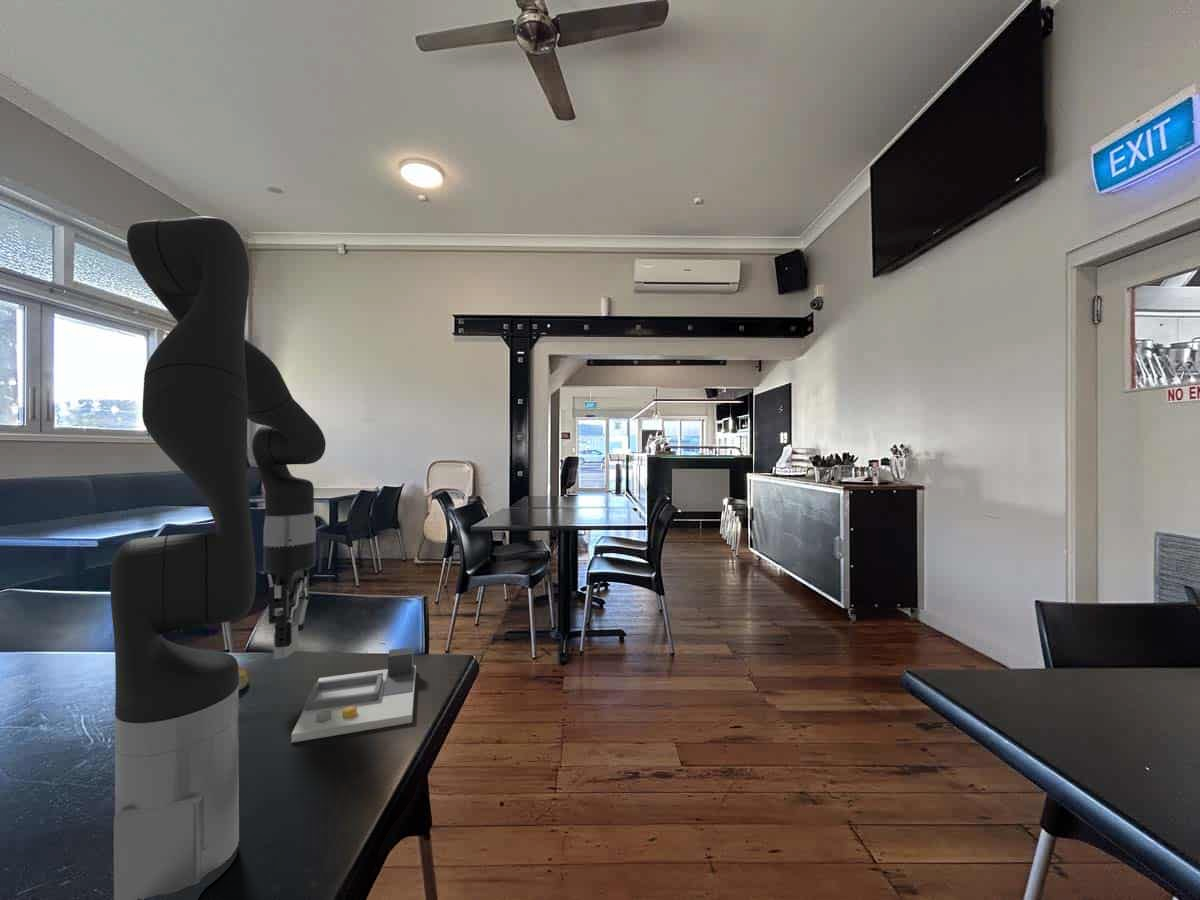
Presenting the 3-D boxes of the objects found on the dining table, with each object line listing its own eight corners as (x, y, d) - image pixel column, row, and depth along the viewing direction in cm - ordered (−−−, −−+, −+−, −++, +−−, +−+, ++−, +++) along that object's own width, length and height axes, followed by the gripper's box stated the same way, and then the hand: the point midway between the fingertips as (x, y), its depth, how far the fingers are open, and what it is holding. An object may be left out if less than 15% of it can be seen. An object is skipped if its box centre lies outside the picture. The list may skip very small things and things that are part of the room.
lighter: (283, 658, 80) (283, 609, 80) (273, 659, 80) (272, 609, 80) (308, 642, 87) (308, 596, 87) (298, 642, 87) (298, 597, 87)
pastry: (198, 683, 88) (198, 661, 88) (244, 672, 92) (244, 652, 92) (200, 704, 81) (200, 680, 81) (250, 691, 85) (250, 669, 85)
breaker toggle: (412, 673, 88) (412, 653, 88) (388, 676, 87) (388, 656, 87) (412, 666, 91) (412, 647, 91) (389, 669, 90) (389, 650, 90)
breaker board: (411, 722, 75) (411, 706, 75) (291, 742, 70) (291, 725, 70) (415, 671, 92) (415, 658, 92) (319, 684, 87) (319, 671, 87)
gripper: (304, 546, 78) (304, 650, 78) (324, 533, 92) (325, 622, 91) (248, 549, 76) (249, 657, 75) (278, 535, 89) (278, 626, 89)
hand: (290, 637), depth 83 cm, fingers closed on lighter, 7 cm apart
